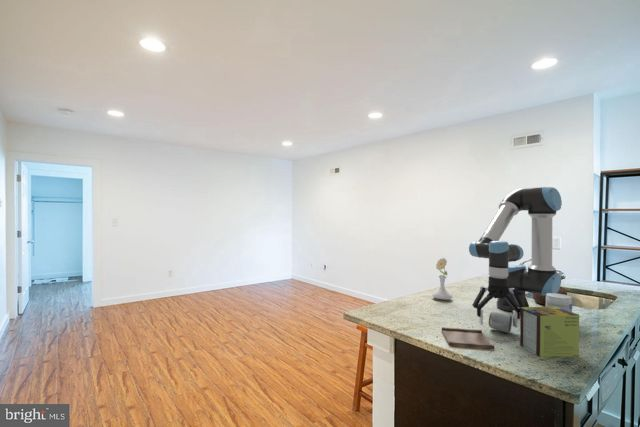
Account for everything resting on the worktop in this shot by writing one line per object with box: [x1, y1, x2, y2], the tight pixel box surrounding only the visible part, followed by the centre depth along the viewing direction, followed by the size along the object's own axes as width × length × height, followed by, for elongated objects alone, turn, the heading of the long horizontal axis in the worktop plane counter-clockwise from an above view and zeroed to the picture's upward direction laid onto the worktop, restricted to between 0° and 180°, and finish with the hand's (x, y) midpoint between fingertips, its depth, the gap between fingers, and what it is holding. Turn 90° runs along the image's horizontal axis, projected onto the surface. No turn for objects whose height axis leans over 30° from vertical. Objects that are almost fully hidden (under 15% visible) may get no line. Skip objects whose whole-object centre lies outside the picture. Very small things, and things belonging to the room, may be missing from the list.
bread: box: [532, 285, 568, 306], centre depth 190 cm, size 16×36×8 cm, turn 136°
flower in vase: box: [432, 257, 453, 301], centre depth 188 cm, size 13×11×25 cm
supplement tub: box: [545, 293, 573, 312], centre depth 143 cm, size 10×10×15 cm
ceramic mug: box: [488, 311, 513, 334], centre depth 137 cm, size 11×8×8 cm
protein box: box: [519, 306, 580, 358], centre depth 119 cm, size 10×15×16 cm
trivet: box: [441, 326, 495, 350], centre depth 128 cm, size 16×16×2 cm
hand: (497, 325), depth 137 cm, fingers open, 13 cm apart
